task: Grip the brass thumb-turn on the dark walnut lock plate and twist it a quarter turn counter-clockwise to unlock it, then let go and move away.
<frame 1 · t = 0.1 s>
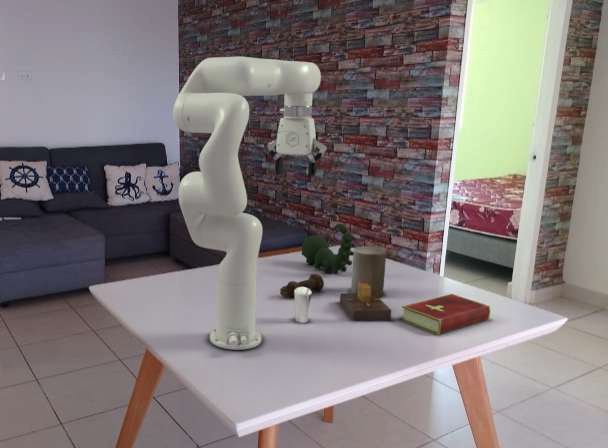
hand: (295, 175, 157), 37 cm above the table, tool pointing down, fingers open, 9 cm apart
bolt: (300, 294, 172), on the table
toy figurine: (323, 269, 199), on the table
pillar candle: (366, 293, 174), on the table
thumbturn: (364, 291, 158), point 5 cm above the table, hinge at 0.0°
hardcover book: (445, 320, 152), on the table
lock plate: (364, 311, 158), on the table
milkshake: (302, 321, 150), on the table
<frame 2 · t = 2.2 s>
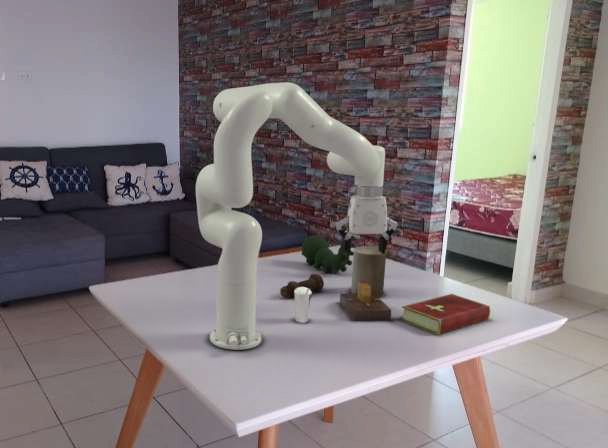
hand: (364, 252, 156), 17 cm above the table, tool pointing down, fingers open, 9 cm apart
nothing on the table moved.
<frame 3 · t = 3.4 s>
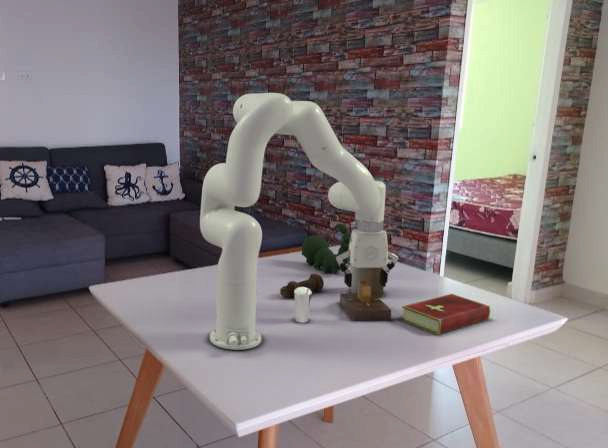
hand: (365, 285, 158), 7 cm above the table, tool pointing down, fingers open, 9 cm apart
nothing on the table moved.
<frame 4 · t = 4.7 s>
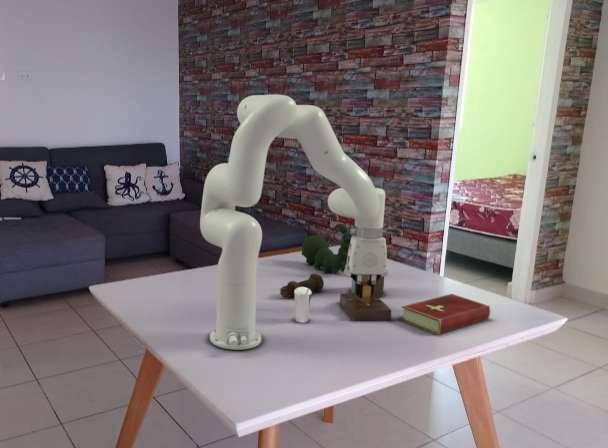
hand: (363, 296, 158), 4 cm above the table, tool pointing down, fingers closed on thumbturn, 2 cm apart
thumbturn: (364, 291, 158), point 5 cm above the table, hinge at 0.2°, touching gripper
everything else where it was.
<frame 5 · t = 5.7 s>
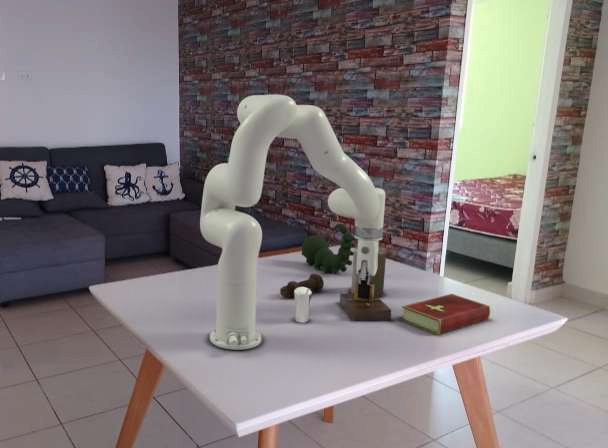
hand: (364, 296, 158), 4 cm above the table, tool pointing down, fingers closed on thumbturn, 2 cm apart
thumbturn: (364, 291, 158), point 5 cm above the table, hinge at 65.2°, touching gripper
everything else where it was.
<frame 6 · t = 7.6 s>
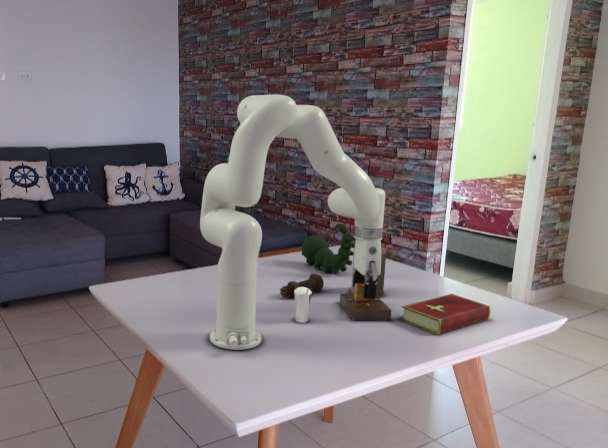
hand: (363, 292, 158), 5 cm above the table, tool pointing down, fingers open, 9 cm apart
thumbturn: (364, 291, 158), point 5 cm above the table, hinge at 89.9°
everything else where it was.
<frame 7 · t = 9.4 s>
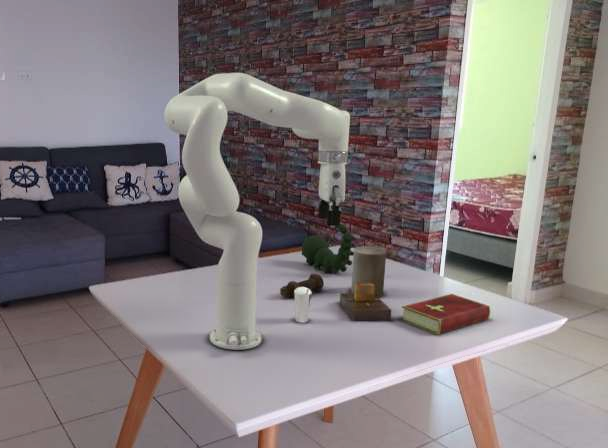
hand: (328, 221, 151), 26 cm above the table, tool pointing down, fingers open, 9 cm apart
nothing on the table moved.
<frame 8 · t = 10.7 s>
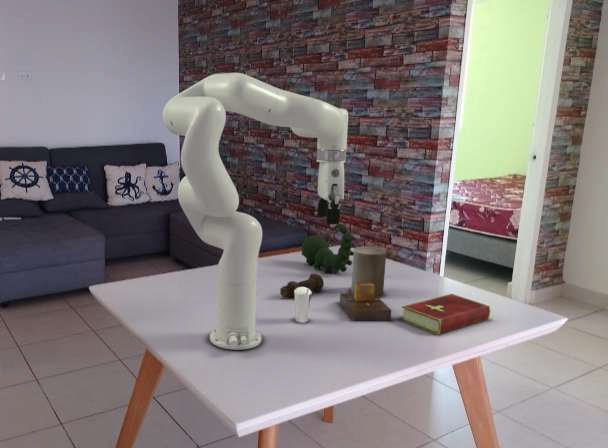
hand: (327, 220, 151), 26 cm above the table, tool pointing down, fingers open, 9 cm apart
nothing on the table moved.
at the end: thumbturn at +90° (first picture: +0°) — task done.
